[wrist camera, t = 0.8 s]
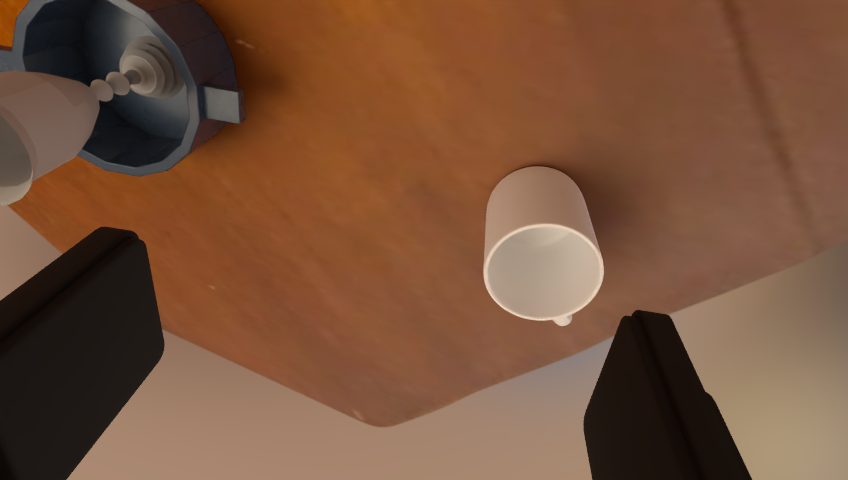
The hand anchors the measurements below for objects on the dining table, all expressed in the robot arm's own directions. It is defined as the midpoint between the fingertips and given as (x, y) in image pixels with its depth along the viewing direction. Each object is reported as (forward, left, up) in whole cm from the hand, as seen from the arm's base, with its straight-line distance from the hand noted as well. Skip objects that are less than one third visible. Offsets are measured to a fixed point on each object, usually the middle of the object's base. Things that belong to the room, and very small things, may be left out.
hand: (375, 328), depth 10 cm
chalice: (+7, -25, -34) cm, 42 cm away
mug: (+15, +9, -34) cm, 38 cm away
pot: (+7, -25, -34) cm, 42 cm away
